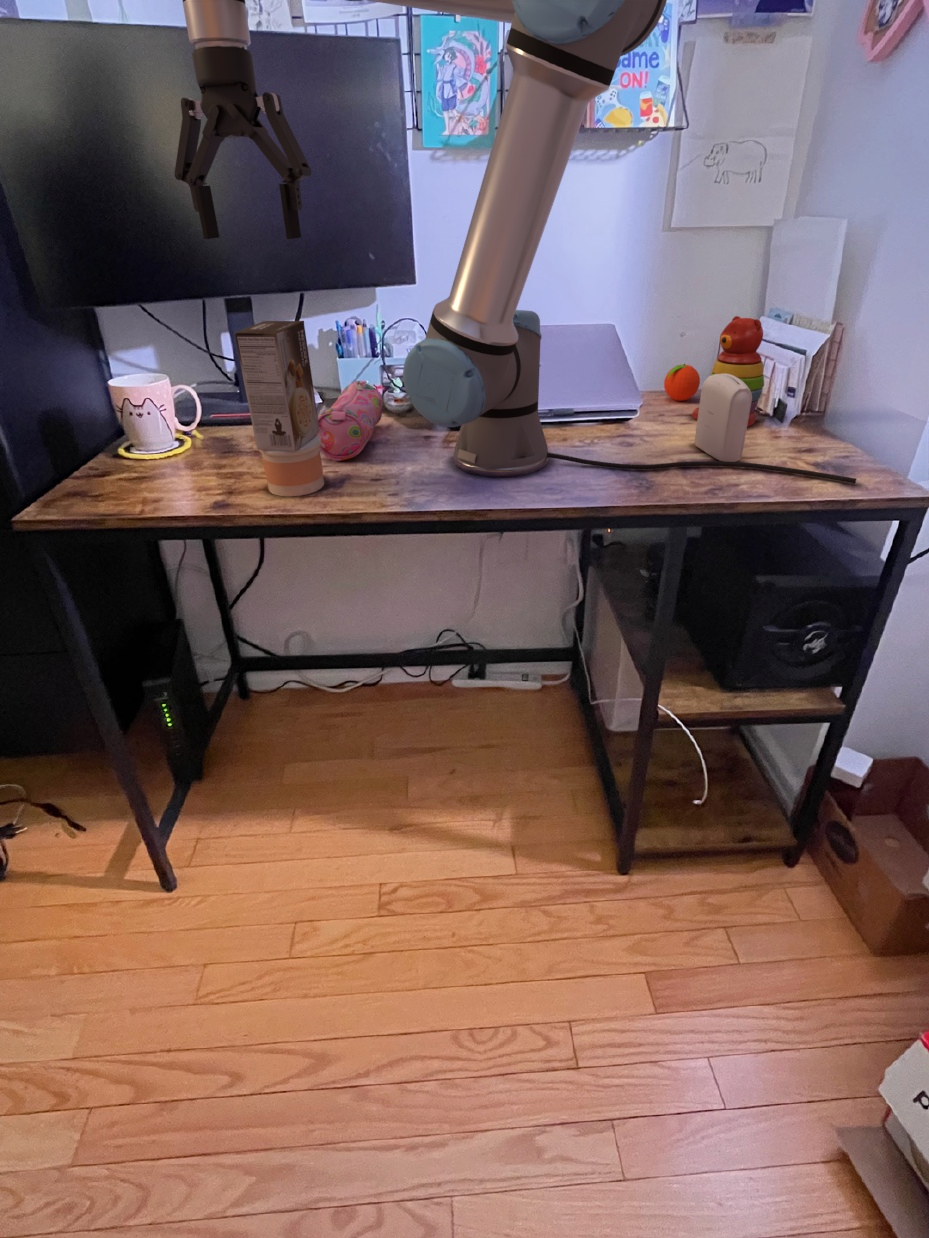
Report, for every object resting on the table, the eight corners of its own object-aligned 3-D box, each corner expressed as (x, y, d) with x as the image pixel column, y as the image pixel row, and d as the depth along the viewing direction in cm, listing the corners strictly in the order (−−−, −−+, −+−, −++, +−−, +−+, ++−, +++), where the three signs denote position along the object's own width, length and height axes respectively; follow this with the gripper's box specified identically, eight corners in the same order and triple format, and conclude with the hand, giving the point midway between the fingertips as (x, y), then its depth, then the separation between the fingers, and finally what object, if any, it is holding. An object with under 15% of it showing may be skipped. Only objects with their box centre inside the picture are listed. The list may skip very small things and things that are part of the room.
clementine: (677, 407, 138) (682, 370, 134) (651, 400, 143) (655, 364, 139) (704, 400, 142) (710, 364, 138) (678, 394, 147) (682, 358, 143)
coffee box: (282, 431, 108) (263, 319, 100) (321, 432, 107) (305, 320, 99) (255, 450, 101) (232, 331, 92) (297, 452, 100) (278, 332, 91)
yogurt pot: (337, 478, 110) (331, 434, 106) (307, 500, 103) (300, 454, 99) (286, 473, 113) (279, 430, 109) (253, 493, 105) (244, 448, 102)
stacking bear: (687, 416, 133) (701, 315, 124) (732, 410, 136) (750, 311, 126) (721, 432, 124) (739, 325, 115) (769, 425, 127) (791, 320, 117)
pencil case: (341, 425, 134) (335, 377, 129) (388, 425, 133) (384, 376, 129) (313, 464, 116) (305, 409, 111) (367, 463, 115) (362, 408, 111)
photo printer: (689, 444, 119) (700, 369, 113) (713, 442, 120) (725, 367, 113) (719, 464, 111) (733, 384, 104) (744, 462, 111) (759, 382, 105)
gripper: (323, 45, 89) (342, 236, 100) (159, 59, 96) (195, 236, 107) (293, 36, 83) (317, 240, 94) (121, 52, 90) (162, 240, 101)
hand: (252, 238), depth 100 cm, fingers open, 13 cm apart
